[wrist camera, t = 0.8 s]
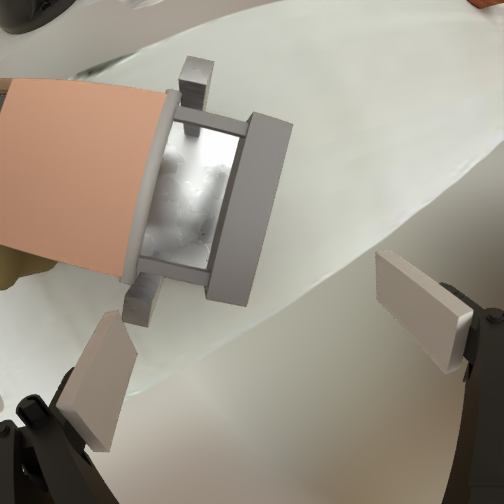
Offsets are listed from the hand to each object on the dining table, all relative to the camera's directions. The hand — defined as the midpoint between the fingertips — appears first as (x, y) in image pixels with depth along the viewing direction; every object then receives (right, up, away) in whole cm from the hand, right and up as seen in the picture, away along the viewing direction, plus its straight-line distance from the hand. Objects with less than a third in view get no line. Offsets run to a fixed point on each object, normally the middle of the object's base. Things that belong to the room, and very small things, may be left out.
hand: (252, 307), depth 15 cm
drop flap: (-9, +7, +4) cm, 12 cm away
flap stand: (-6, +8, +17) cm, 20 cm away
